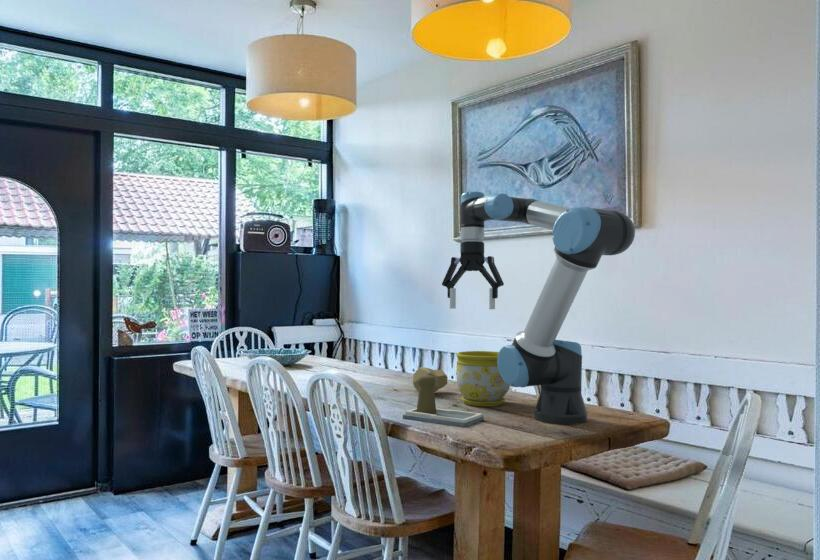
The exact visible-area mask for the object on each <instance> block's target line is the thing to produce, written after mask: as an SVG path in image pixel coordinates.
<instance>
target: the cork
mask: <svg viewBox="0 0 820 560" xmlns="http://www.w3.org/2000/svg"><path fill="white" fill-rule="evenodd" d="M418 385H419V386H420V389H419V393H418V397H417V398H418V399H417V404H416V408H417V411H416V412H420V413H428V414H436V408H437V407H436V406H437V405H436V399H435V392H434V385H435V378H434V377H433V376H430V375H423V376H420V377H419V378H418Z"/></svg>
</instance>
